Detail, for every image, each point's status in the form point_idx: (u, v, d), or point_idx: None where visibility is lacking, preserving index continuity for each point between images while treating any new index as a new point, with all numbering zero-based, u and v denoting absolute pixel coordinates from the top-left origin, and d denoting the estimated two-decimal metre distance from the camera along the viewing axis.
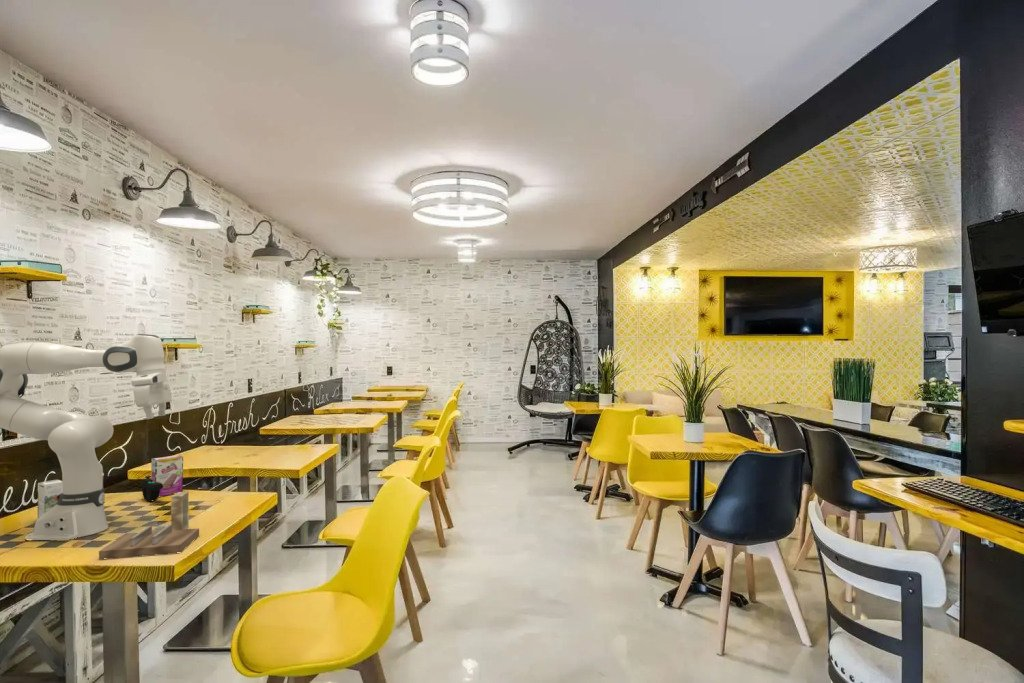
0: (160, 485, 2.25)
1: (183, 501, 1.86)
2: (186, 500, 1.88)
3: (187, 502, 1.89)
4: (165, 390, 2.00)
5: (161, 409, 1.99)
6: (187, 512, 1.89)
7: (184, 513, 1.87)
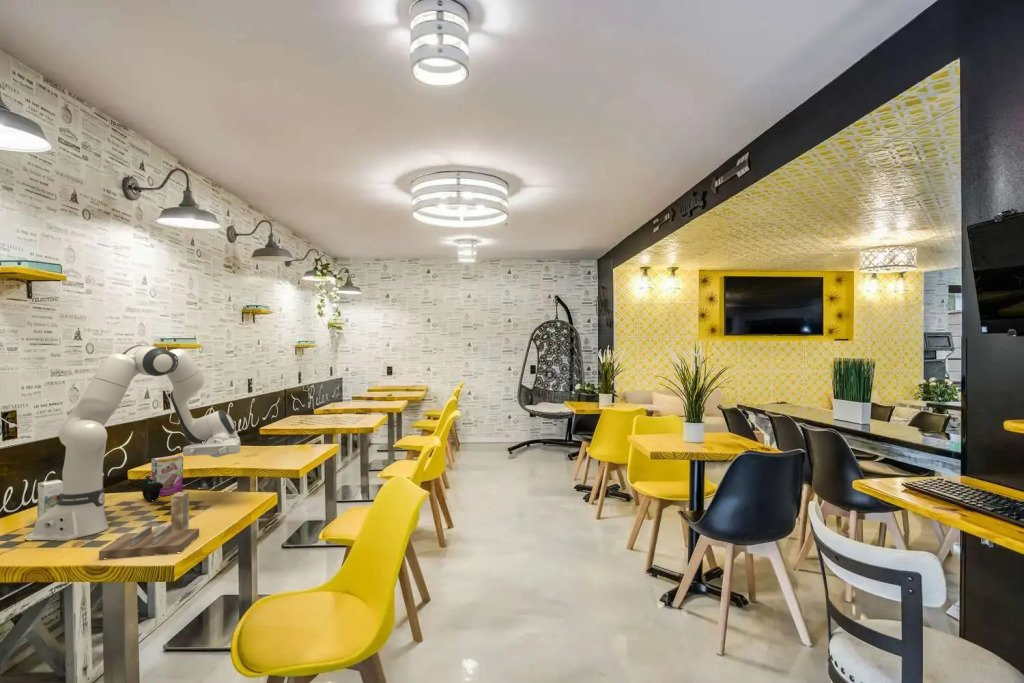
0: (160, 485, 2.25)
1: (183, 501, 1.86)
2: (186, 500, 1.88)
3: (187, 502, 1.89)
4: None
5: None
6: (187, 512, 1.89)
7: (184, 513, 1.87)
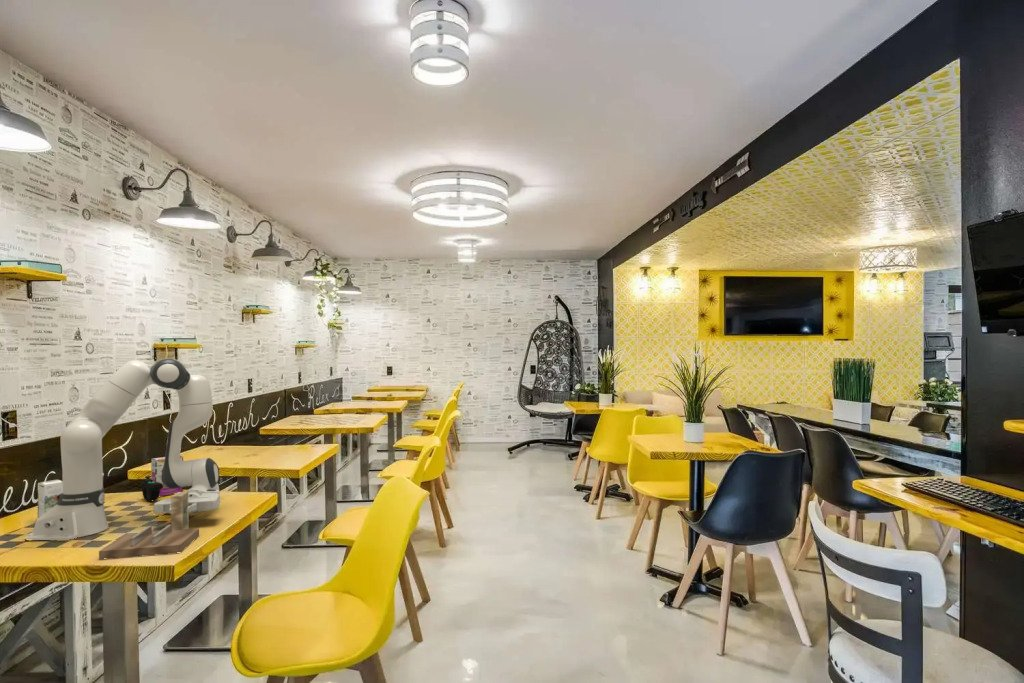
0: (160, 485, 2.25)
1: (183, 501, 1.86)
2: (186, 500, 1.88)
3: (187, 502, 1.89)
4: None
5: None
6: None
7: (184, 513, 1.87)
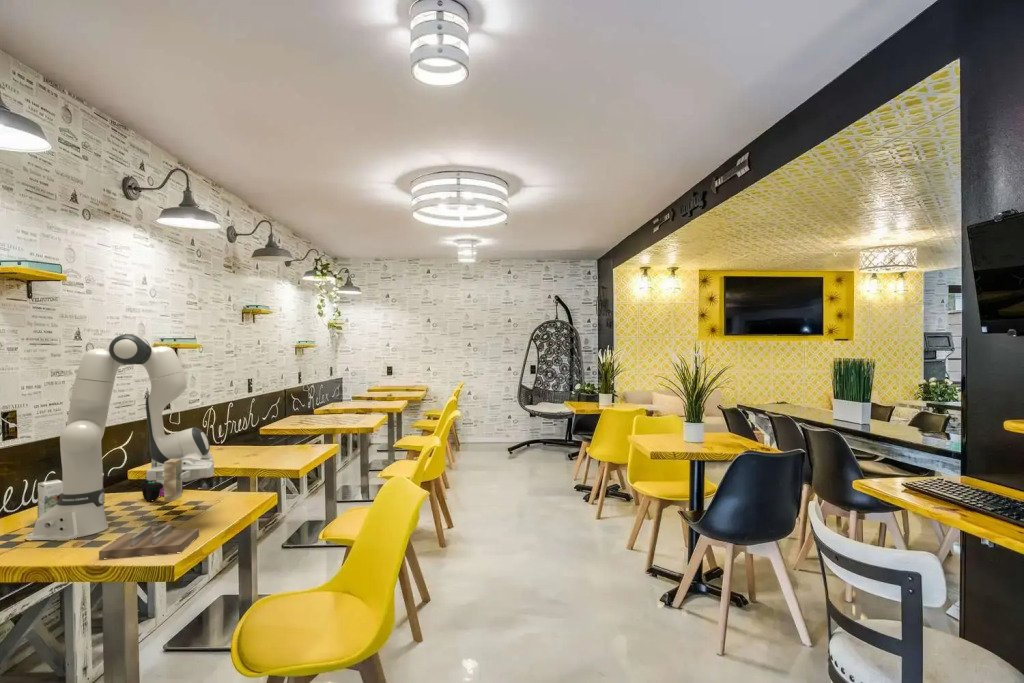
0: (160, 485, 2.25)
1: (177, 467, 1.83)
2: (179, 467, 1.85)
3: (180, 469, 1.86)
4: None
5: None
6: (180, 479, 1.86)
7: (177, 480, 1.83)
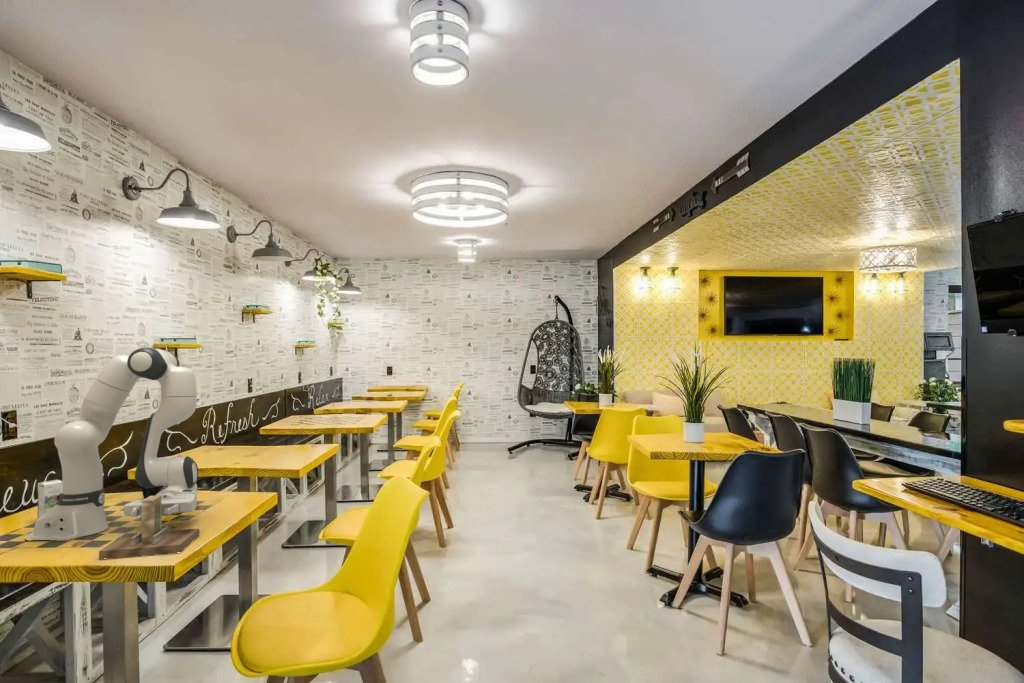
0: None
1: (155, 506, 1.72)
2: (158, 504, 1.74)
3: (160, 507, 1.75)
4: None
5: None
6: (160, 517, 1.75)
7: (156, 519, 1.72)
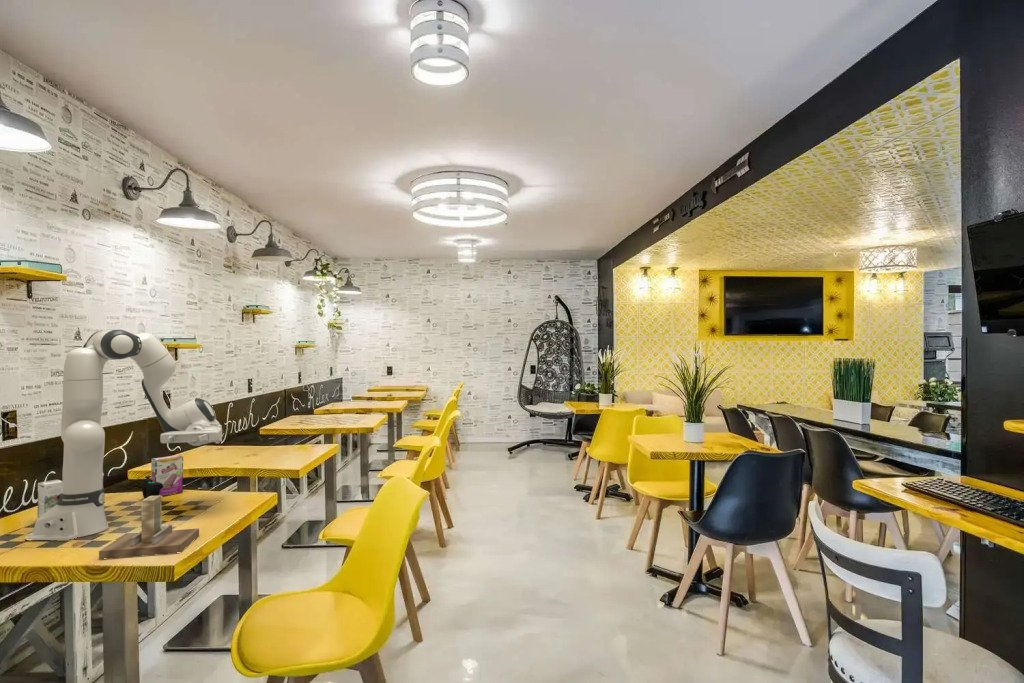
0: (160, 485, 2.25)
1: (155, 506, 1.72)
2: (158, 504, 1.74)
3: (160, 507, 1.75)
4: None
5: None
6: (160, 517, 1.75)
7: (156, 519, 1.72)
